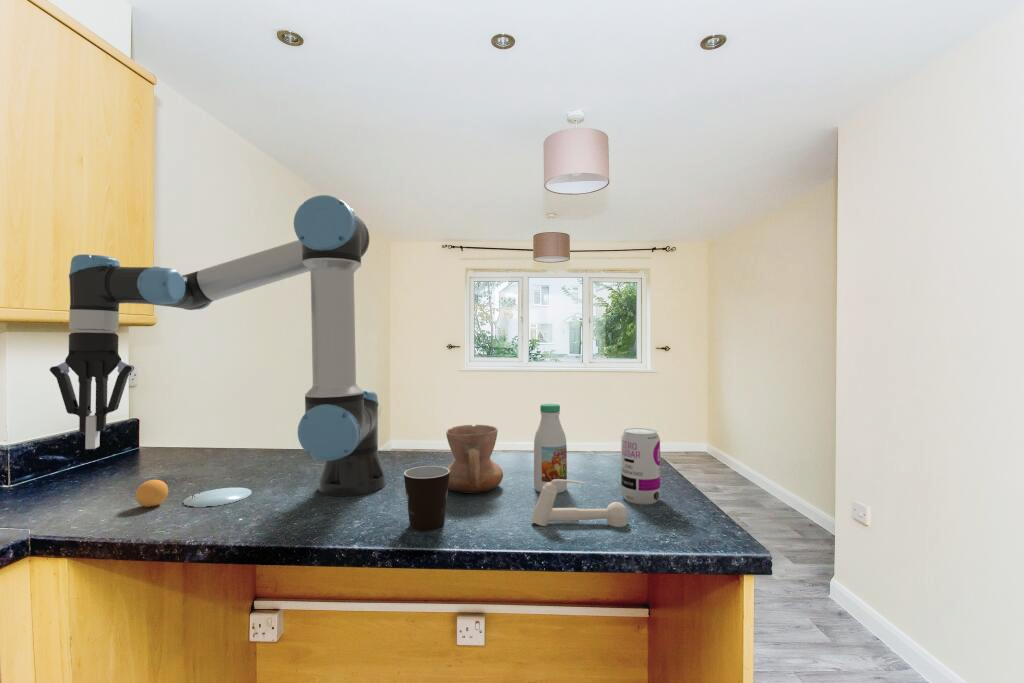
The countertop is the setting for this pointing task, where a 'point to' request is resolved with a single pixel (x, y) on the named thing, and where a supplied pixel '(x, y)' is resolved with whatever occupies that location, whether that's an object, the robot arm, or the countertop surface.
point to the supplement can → (640, 466)
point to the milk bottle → (550, 449)
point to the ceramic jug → (473, 459)
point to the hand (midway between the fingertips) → (92, 447)
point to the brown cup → (426, 496)
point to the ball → (151, 493)
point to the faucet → (574, 509)
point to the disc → (217, 497)
